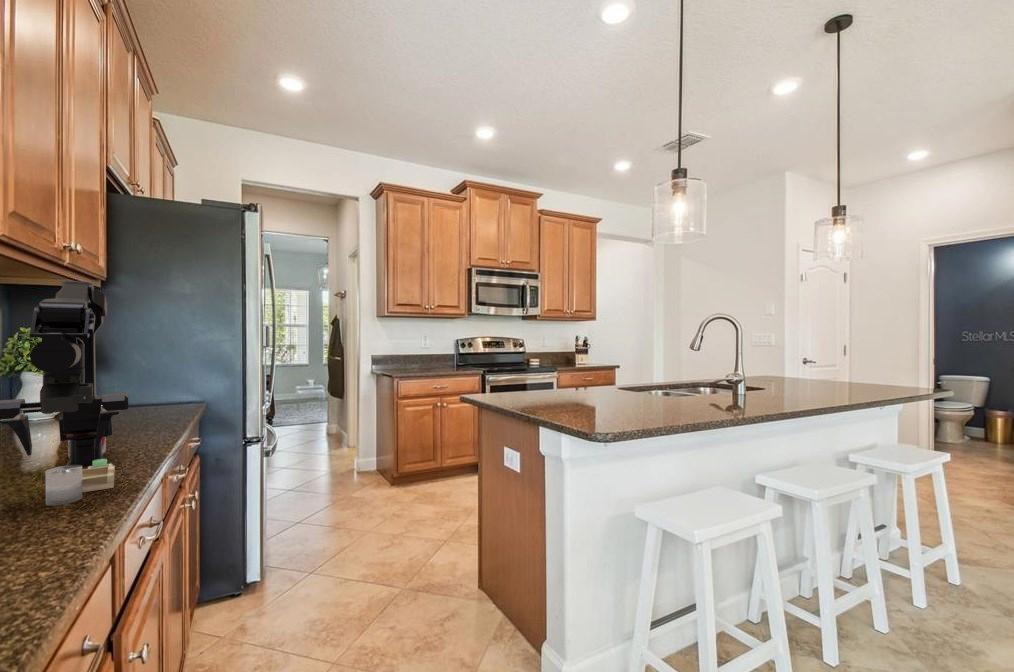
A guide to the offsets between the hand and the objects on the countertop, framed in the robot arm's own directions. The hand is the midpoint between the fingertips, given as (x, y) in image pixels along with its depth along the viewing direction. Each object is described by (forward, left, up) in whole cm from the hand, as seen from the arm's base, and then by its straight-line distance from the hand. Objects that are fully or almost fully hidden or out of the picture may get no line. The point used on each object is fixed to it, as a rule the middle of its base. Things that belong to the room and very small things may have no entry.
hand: (64, 451), depth 87 cm
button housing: (-15, +4, -9) cm, 19 cm away
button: (-15, +4, -10) cm, 19 cm away
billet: (0, 0, -9) cm, 9 cm away
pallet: (-8, +2, -9) cm, 12 cm away
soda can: (-36, +1, -10) cm, 38 cm away
